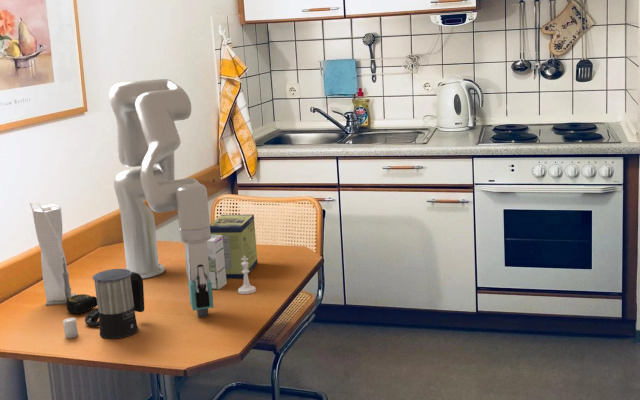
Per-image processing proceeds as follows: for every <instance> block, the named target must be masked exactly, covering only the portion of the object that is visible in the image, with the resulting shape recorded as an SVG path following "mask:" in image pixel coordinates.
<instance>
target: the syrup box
mask: <svg viewBox="0 0 640 400" xmlns="http://www.w3.org/2000/svg"><path fill="white" fill-rule="evenodd" d="M207 250H208V261H209V279H210V281H211V284H212V290H220V289H222V288H223V287H224V286H225V285H227V282H228V281H227V279H226V271H225V260H224V247H223V237H222V235H211V239H210V240H208V241H207Z"/></svg>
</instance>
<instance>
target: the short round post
mask: <svg viewBox="0 0 640 400" xmlns="http://www.w3.org/2000/svg"><path fill="white" fill-rule="evenodd" d="M62 324H63V331H64V337H65V339H74V338H76V337H78V336H79V333H78V332H79V331H78V326H77V318H75V317H68V318H65V319H63V321H62Z"/></svg>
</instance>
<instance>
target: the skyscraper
mask: <svg viewBox="0 0 640 400" xmlns="http://www.w3.org/2000/svg"><path fill="white" fill-rule="evenodd" d="M29 204H30V208H31V210H32V218H33V224H34V229H35V233H36V238H37V242H38V245H39V247H40V248H39V249H40V262H41V265H40V266H41V275H42V281H43V288H44V294H45V299H46V302H45V306H55V305H66V301H67V299H68V298H70V297H72V296H74V295H77V294H76V292H75V293H73V292H72V287H71V285H70V277H69V274H70V273H69V271H68V266H67V260H66V255H65V251H64V249H63V218H62V217H63V216H62V207H61V206H60V205H58V204H54V203H50V204H48V205H46V204H45V205H41V204H40V203H38V202H34V201H31V202H30V203H29ZM33 205H36V206H39V208H38V209H34V207H33Z"/></svg>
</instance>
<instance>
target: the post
mask: <svg viewBox="0 0 640 400" xmlns="http://www.w3.org/2000/svg"><path fill="white" fill-rule="evenodd" d="M196 316H197V318H205V317H210V316H209V308H207V309H200V310H196Z"/></svg>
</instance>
